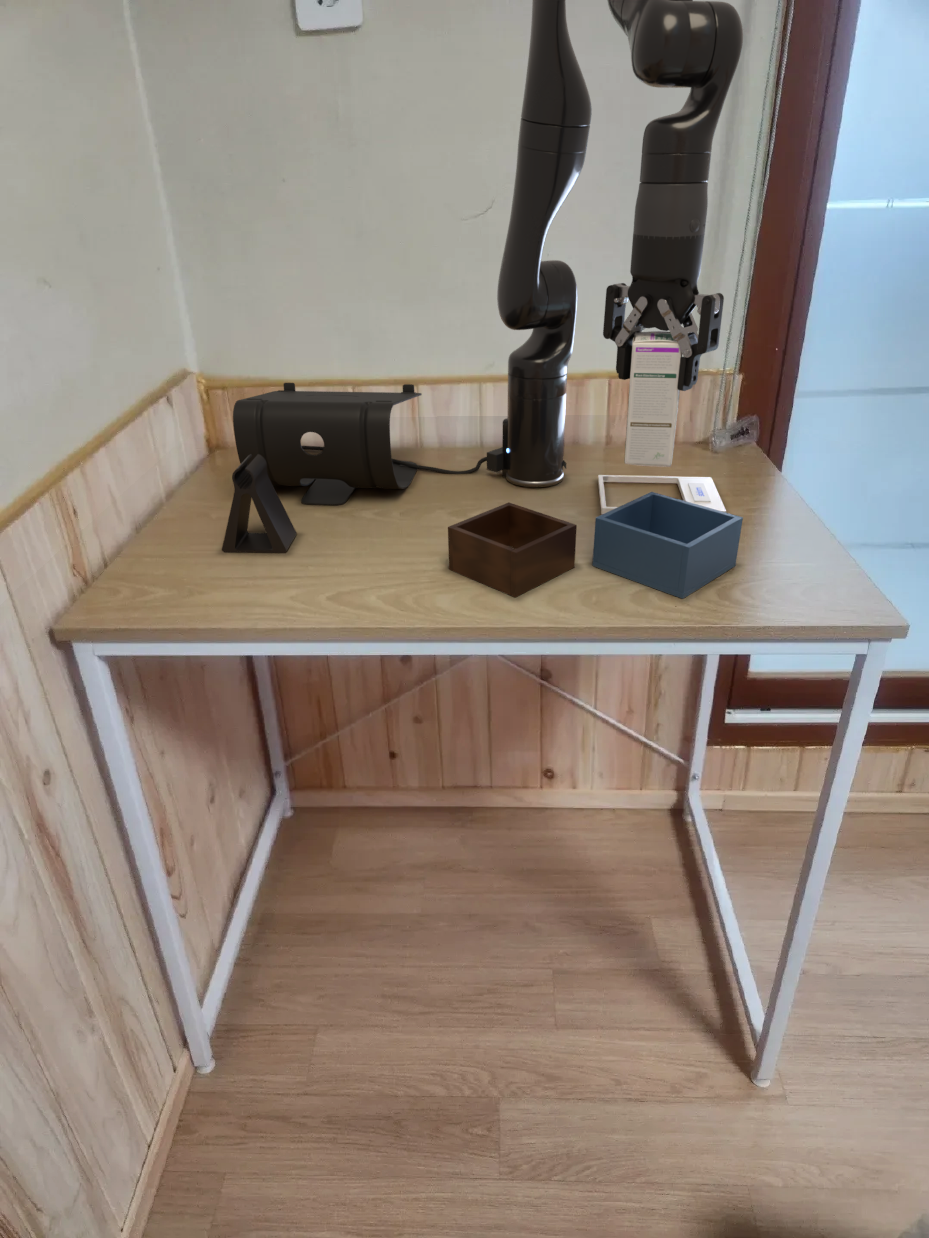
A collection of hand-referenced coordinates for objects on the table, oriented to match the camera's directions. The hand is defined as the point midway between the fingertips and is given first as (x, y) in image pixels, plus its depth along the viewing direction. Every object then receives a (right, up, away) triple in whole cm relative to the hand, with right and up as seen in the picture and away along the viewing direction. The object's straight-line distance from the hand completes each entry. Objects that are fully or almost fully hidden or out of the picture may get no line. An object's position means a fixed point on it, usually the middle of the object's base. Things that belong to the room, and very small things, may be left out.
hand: (654, 383), depth 98 cm
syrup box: (0, -8, +5) cm, 9 cm away
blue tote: (+4, -21, +12) cm, 24 cm away
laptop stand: (-43, -5, +41) cm, 60 cm away
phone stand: (-51, -17, +20) cm, 57 cm away
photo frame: (+8, -9, +33) cm, 35 cm away
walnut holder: (-16, -21, +12) cm, 29 cm away
